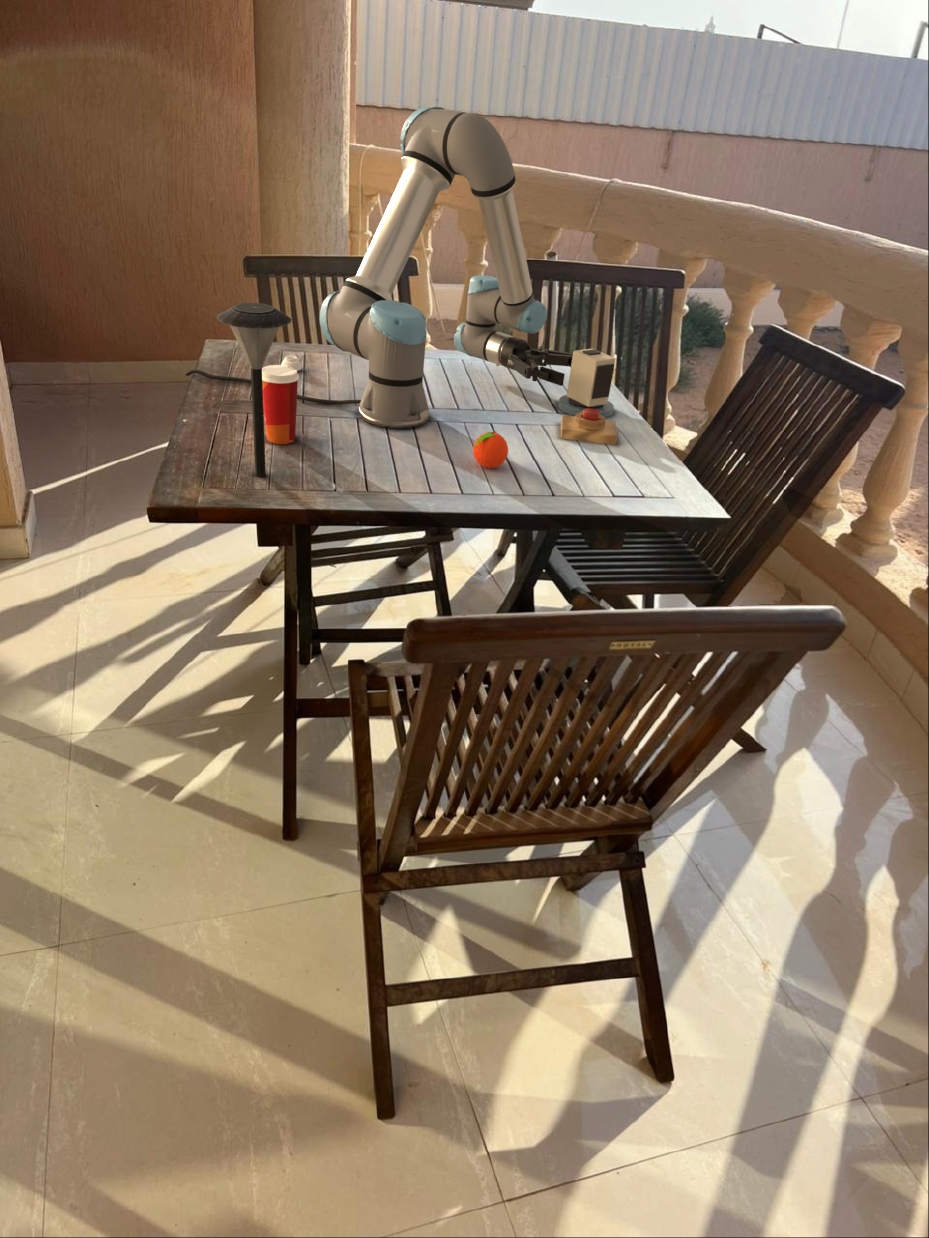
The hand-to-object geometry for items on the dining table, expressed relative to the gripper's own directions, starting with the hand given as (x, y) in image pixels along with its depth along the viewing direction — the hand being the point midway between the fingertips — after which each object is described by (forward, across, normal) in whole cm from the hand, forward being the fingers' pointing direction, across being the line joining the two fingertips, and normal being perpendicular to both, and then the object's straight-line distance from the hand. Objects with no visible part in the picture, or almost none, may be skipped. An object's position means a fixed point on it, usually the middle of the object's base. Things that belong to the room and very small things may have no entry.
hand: (579, 374), depth 206 cm
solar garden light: (-14, +83, -8) cm, 85 cm away
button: (+13, +14, -4) cm, 19 cm away
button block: (+13, +14, -8) cm, 20 cm away
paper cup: (-25, +69, -8) cm, 74 cm away
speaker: (+3, 0, -6) cm, 6 cm away
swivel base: (+3, 0, -8) cm, 8 cm away
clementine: (+10, +46, -8) cm, 48 cm away
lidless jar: (-58, +38, -8) cm, 70 cm away
